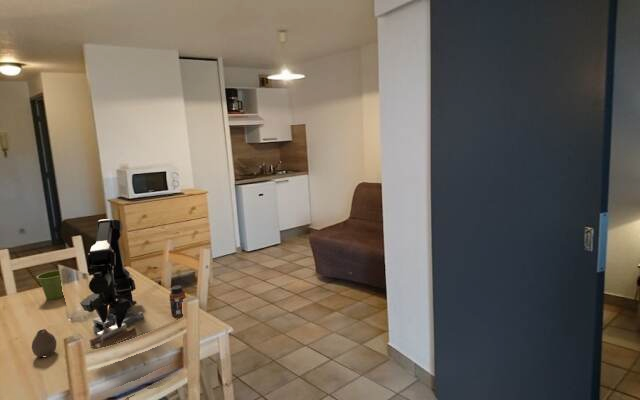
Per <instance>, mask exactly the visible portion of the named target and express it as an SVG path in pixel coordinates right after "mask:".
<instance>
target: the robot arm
mask: <svg viewBox="0 0 640 400" xmlns="http://www.w3.org/2000/svg"><path fill="white" fill-rule="evenodd" d="M123 227H124V226H123V222H122V221H121V220H120V219H118V218H116V219H114V218H112V219H111V218H105V219H99V220H98V221H97V222H96V230H97V231H96V232H97V234H96V235H97V236H96V240H95V241H96V242H95V244H93V245H91V247H90V250H89V253H87V273H92V275H93V276H92V277H91V279H90V281H89V283H88V289H89V291H90V292H92V293H91V294H90V295H88V296H87V297H86V298H84V299H83V300H81V301H80V302H79V304H80V305H81V307H82V309H83V310H84V311H86V312H88V313H92V312H93V313H94V312H95V311H96V313H97V315H98V317H100V319H101V321H102V322H103V323H104V322H106V319H107V310H108V305H109V310H110V313H111V314H113V315H114V317H115V321H116V324H117V327H118V328H120V327H121V326H122V323H123V320H124V317H125V315H126V313H127V311H128V310H130V309H132V306H133V305H134V304H136V303H137V301H135V300H133V294H132V292H133V291H135V290H136V288H137V287H136V283H135V280H134V279H133V277H132V276H131V273H130V271H129V270H127V269H126V268H125V264H124V259H123V258H124V257H123V254H122V247H121V244H120V243H121V241H120V239H121V236H122V232H123V230H124V228H123Z"/></svg>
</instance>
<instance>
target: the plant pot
mask: <svg viewBox="0 0 640 400" xmlns="http://www.w3.org/2000/svg"><path fill="white" fill-rule="evenodd" d="M59 270H60V269H59ZM59 270H58V269H57V270H51V271H46V272H44V273H41V274H39V275H37V276H36V279H37V280H38V281H39V283H40V286H41V287H42V290H43V293H44V296H45V299H46V300H57V299H60V298H62V297H64V296H63V292H62V286H61V280H60V274H59Z"/></svg>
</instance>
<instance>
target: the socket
mask: <svg viewBox="0 0 640 400" xmlns="http://www.w3.org/2000/svg"><path fill="white" fill-rule="evenodd" d="M143 319H145V316H144V312H142V311H139V312H137V313H135V309H133V308H130V309H128V311H127V313H126V315H125V317H124V320H123V323H125V324H126V327H129V326H130V325H133V324H135V323H137V322H139V321H141V320H143ZM114 320H115V317H114ZM92 322H93V326H92V328H93V332H94V333H95V334H96V330H95V328H96V327H98V326H101V325H103V329H102V331H103V330H105V329H107V328H109V327H111V326H114V325H116V321H115V324H113V320H112V319H109V318H107V319H106V322H104V323H103V322H102V321H101V319H100V317H99V316H97V317H95V318H93V321H92Z"/></svg>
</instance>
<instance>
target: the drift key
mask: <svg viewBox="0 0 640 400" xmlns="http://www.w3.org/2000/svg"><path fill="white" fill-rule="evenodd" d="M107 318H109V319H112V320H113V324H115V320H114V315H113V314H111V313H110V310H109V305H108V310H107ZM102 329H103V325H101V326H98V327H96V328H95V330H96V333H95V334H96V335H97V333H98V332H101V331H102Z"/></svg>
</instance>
